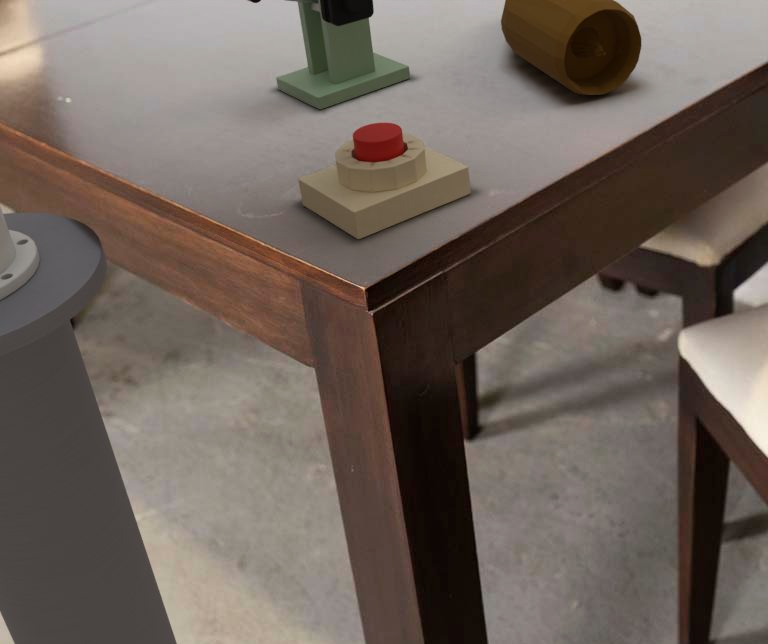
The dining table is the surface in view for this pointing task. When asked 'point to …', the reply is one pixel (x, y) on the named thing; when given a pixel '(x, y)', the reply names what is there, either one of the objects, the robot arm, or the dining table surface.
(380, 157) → the light button
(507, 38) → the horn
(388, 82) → the mains bracket
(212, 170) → the dining table surface
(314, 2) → the lever
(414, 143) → the switch block
